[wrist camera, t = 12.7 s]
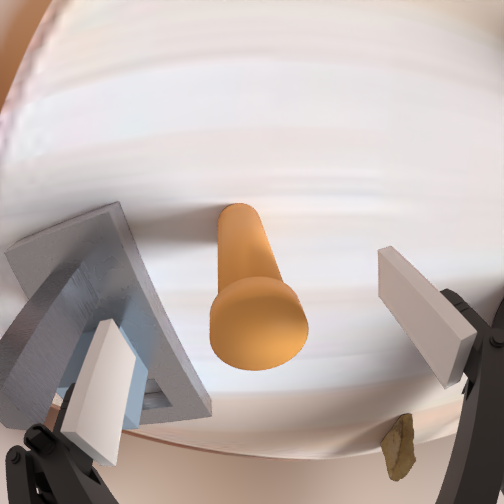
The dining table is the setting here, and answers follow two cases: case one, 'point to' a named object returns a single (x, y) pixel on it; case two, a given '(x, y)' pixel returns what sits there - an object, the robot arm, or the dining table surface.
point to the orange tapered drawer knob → (252, 298)
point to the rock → (399, 448)
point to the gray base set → (89, 319)
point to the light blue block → (136, 383)
